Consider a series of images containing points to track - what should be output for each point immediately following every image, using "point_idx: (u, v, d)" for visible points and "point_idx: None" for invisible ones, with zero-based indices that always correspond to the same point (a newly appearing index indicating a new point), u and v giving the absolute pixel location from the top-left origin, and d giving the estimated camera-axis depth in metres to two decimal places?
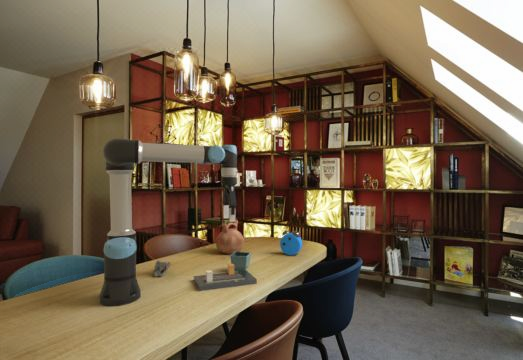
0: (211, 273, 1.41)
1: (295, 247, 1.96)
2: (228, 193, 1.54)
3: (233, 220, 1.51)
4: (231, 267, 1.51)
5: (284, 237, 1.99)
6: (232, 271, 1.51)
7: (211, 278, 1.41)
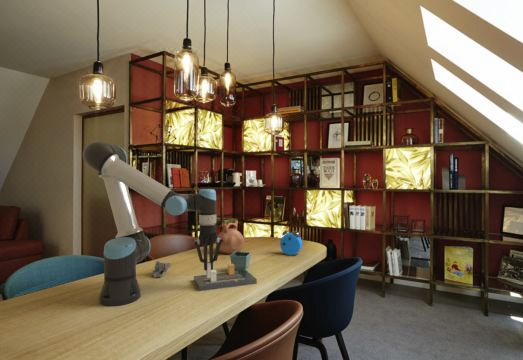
0: (215, 273, 1.41)
1: (295, 247, 1.96)
2: None
3: (207, 276, 1.41)
4: (231, 267, 1.51)
5: (284, 237, 1.99)
6: (232, 271, 1.51)
7: (215, 278, 1.41)
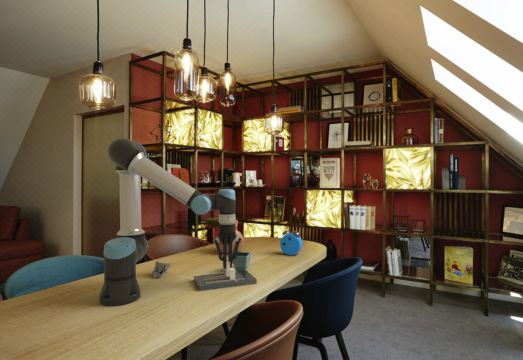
0: (234, 270, 1.44)
1: (295, 247, 1.96)
2: None
3: (226, 274, 1.44)
4: None
5: (284, 237, 1.99)
6: None
7: (234, 275, 1.44)
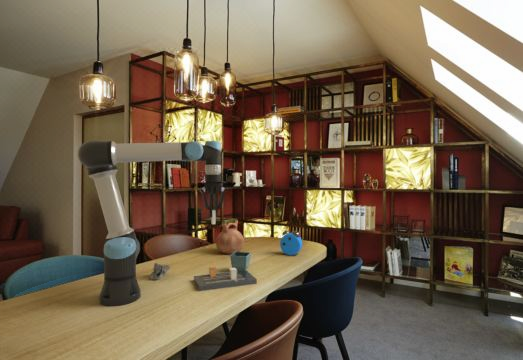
0: (235, 270, 1.45)
1: (295, 247, 1.96)
2: None
3: (212, 222, 1.51)
4: (212, 269, 1.48)
5: (284, 237, 1.99)
6: (213, 273, 1.48)
7: (235, 275, 1.45)
